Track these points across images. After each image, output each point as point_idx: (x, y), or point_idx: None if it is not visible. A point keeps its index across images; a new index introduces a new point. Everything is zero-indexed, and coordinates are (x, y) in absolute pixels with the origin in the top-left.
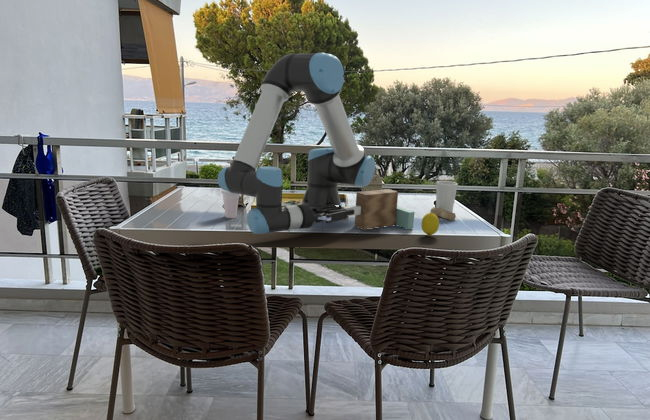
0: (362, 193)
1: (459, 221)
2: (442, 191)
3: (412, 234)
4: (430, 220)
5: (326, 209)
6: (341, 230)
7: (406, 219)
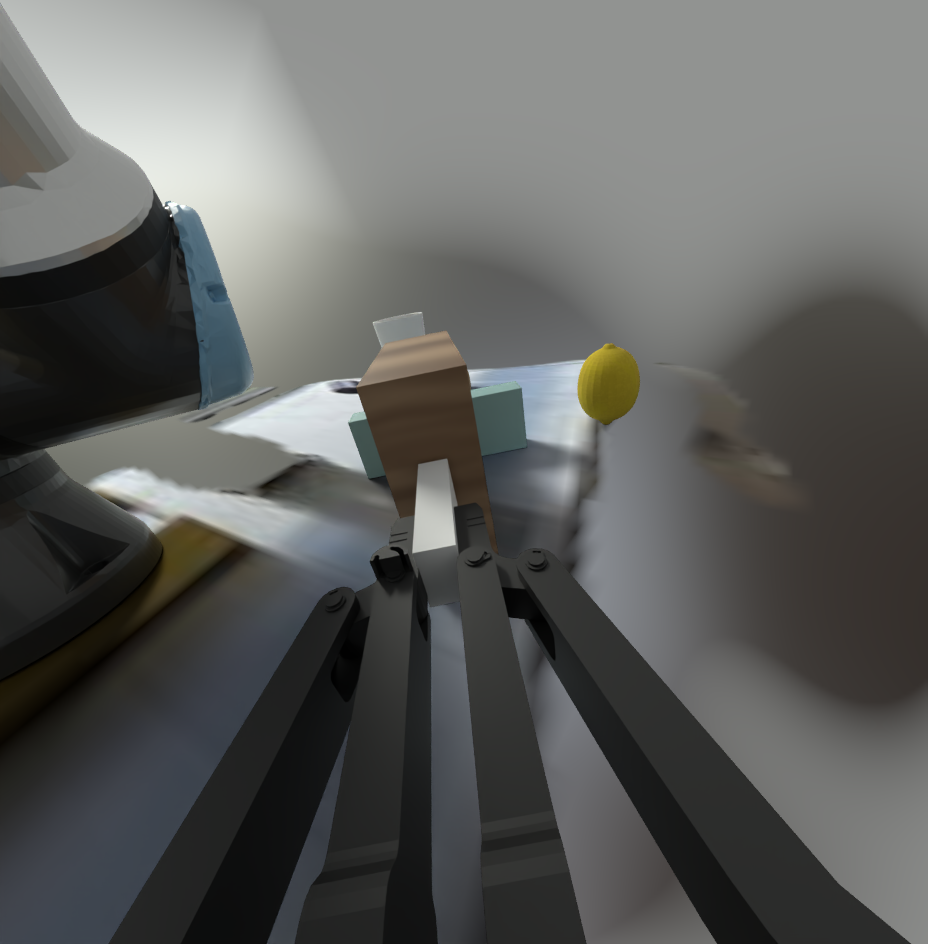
0: (412, 373)
1: (483, 383)
2: (409, 337)
3: (584, 446)
4: (635, 367)
5: (398, 795)
6: (457, 680)
7: (514, 416)
